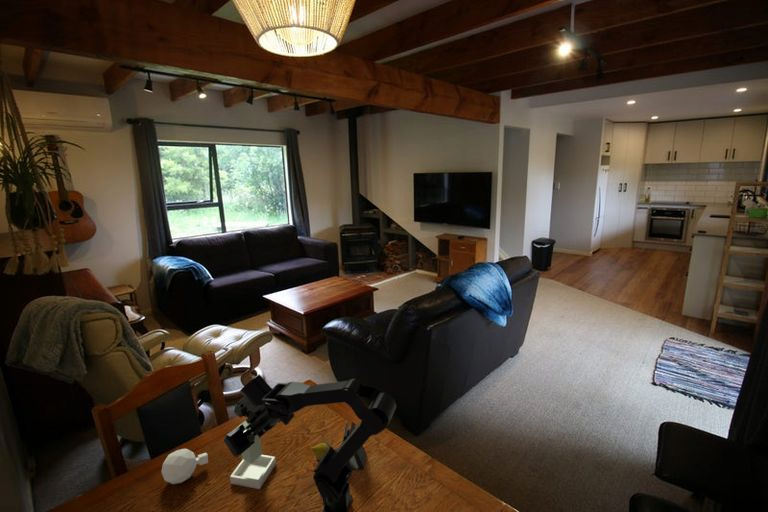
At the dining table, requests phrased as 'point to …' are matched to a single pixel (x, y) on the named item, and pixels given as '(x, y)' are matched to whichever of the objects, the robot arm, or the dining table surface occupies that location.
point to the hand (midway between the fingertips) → (246, 435)
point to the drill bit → (320, 449)
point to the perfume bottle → (181, 465)
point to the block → (252, 448)
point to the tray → (253, 472)
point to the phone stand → (360, 456)
